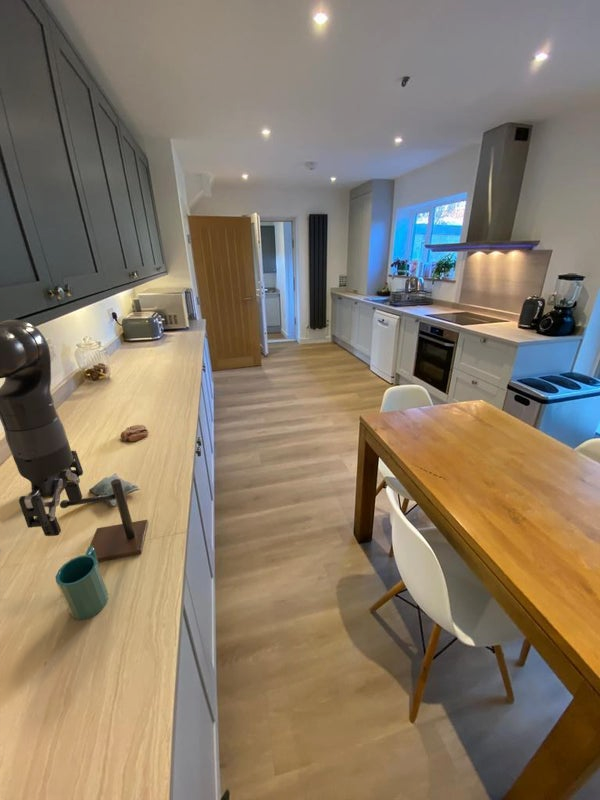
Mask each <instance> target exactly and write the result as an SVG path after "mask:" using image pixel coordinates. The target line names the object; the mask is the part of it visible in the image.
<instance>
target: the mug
mask: <svg viewBox="0 0 600 800" xmlns="http://www.w3.org/2000/svg"><path fill="white" fill-rule="evenodd" d="M100 568H101V564H100V562H98V559H97V556H96V553H95V550H94V548H93V546H90V545H88V547H87V549H86V552H85V553H84V554H82V555H78V556H76V557H73V558H71V559H70V560H68V561H66V563H64V564H62V566H61V567H60V568H59V569H58V571H57V572H56V575H55V582H56V585H57V587H58V589H59V591H60V593H61V596H62V598H63V600H64V602H65V605H66V608H67V610H68V611H69V613H70V615H71V617H72V618H73V619H75V620H77V621H84V620H88V619H90V618H93V617H94V616H96V615H97V614H99V613H100V612H101V611H102V610H103V609H104V608H105V607H106V605H107V604H108V601H109V598H110V597H109V594H110V593H109V592H108V591H109V590H108V588H107V586H106V583H105V579H104V577H103V573H102V572H101V569H100Z"/></svg>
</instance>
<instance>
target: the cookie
mask: <svg viewBox="0 0 600 800" xmlns="http://www.w3.org/2000/svg"><path fill="white" fill-rule="evenodd" d="M148 436H149V430H148V428H147V427H146V426H145V425H144V424H135V425H131V426H129V427H126V428H125V430H124V431H122V432H121V433H120V439H121V440H122V441H123V442H138V441H140V440H142V439H145V438H147V437H148Z"/></svg>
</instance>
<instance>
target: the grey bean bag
mask: <svg viewBox="0 0 600 800" xmlns="http://www.w3.org/2000/svg"><path fill="white" fill-rule="evenodd" d="M117 474H118V473H114V474H113V475H111V476H106V477H104V478H103V479H101V480H100V481H98V482H97V483H96V484H95V485H93V486H92V487H91V488H89V489H88V491H89V493H91V494H93V495H95V497H96V496H103V495H109V494H114V493H113V489H112V486H111V482H112V481H113V480H115V479H120V480H121V484H122V487H123V491H124V494H125V497H127V496H128V495H130V494H133V493H135V492H137V491H140V490H141V488H140V487H139V485H136V484H133V483H131V482H128V481H126V480H124V479H123V478H122V477H120V476H118V475H117ZM104 502H105V503H106V504H108V505H109V506H113V507H116V506H117V503H116V500H115V499H112V500H105V501H104Z"/></svg>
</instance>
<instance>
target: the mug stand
mask: <svg viewBox="0 0 600 800" xmlns="http://www.w3.org/2000/svg"><path fill="white" fill-rule="evenodd" d="M111 486H112V489H113V493H114V494H109V495H103V496H96V495H95V496H91V497H84V498H83V497H82V499H81V500H80V501H74V502H71V501H69V500H68V499H63V500H61V501H60V503H59V507H60V508H61V509H67V508H69V507H72V506H73V507H74V506H80V505H85V504H93V503H98V502H105V500H112V499H115V500H116V506H117V510H118V513H119V517H120V520H121V523H119V524H114V525H108V526H101V527H97V528H96V530H95V532H94V535H93V537H92V540H91V543H90V545H89V546H93V548H94V550H95V553H96V556H97V559H98V562H99V563H100V562H104V561H105V562H106V561H111V560H114V559H121V558H127V557H130V556H136V555H141V554H143V548H144V544H145V539H146V535H147V531H148V526H149V520H148V519H143V520H137V521H136V520H135V521H133V520H132V516H131V513H130V509H129V506H128V501H127V498H126V496H125V494H124V491H123V487H122V484H121V480H120V479H115V480H113V481H112V482H111Z"/></svg>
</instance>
